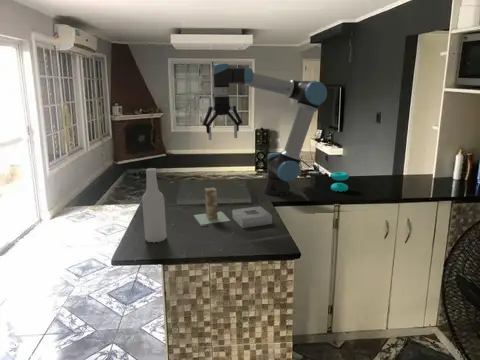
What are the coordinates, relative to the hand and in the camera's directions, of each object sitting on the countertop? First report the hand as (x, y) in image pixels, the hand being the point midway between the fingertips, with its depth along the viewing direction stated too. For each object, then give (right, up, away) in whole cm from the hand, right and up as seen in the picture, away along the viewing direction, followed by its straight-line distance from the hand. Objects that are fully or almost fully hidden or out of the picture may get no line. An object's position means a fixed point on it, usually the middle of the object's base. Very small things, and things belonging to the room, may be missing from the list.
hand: (223, 138), depth 205 cm
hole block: (+14, -41, -20) cm, 47 cm away
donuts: (+67, -27, +31) cm, 78 cm away
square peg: (-5, -39, -15) cm, 42 cm away
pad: (-5, -40, -15) cm, 43 cm away
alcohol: (-26, -46, -36) cm, 64 cm away
